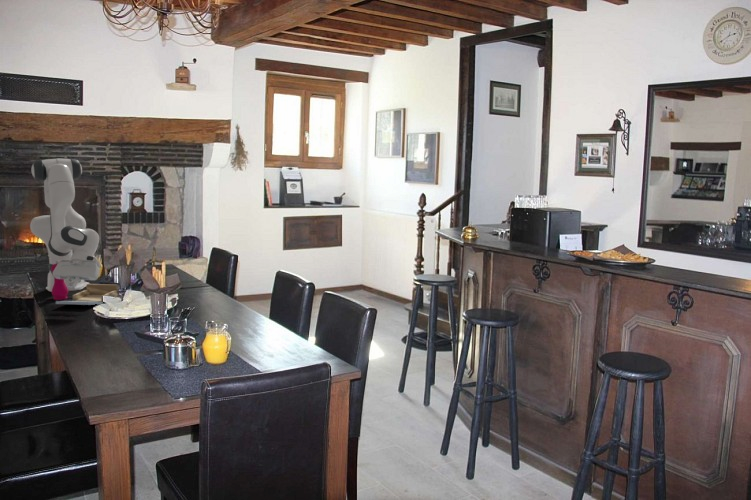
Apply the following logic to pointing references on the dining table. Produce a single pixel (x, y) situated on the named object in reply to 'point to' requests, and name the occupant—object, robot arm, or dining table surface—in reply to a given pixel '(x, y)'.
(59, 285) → the pepper mill
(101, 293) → the tray
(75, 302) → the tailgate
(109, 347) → the dining table surface
